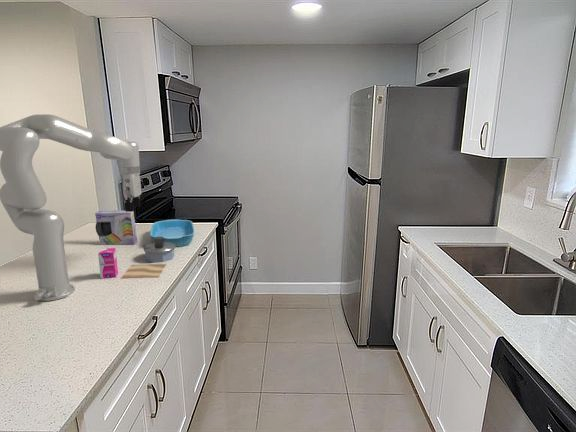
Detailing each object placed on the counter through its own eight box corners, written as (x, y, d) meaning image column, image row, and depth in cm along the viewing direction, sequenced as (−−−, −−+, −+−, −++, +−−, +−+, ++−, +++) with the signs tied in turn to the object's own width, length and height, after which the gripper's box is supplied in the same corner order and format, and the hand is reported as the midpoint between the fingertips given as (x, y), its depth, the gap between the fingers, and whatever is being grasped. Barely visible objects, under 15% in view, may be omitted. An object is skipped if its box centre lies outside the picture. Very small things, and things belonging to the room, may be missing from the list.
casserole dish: (196, 248, 188) (195, 235, 186) (150, 252, 181) (149, 238, 180) (192, 229, 222) (191, 218, 220) (153, 232, 215) (152, 220, 214)
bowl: (171, 262, 168) (170, 252, 166) (143, 263, 166) (142, 252, 165) (175, 253, 179) (175, 244, 178) (150, 254, 178) (149, 244, 177)
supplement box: (100, 279, 148) (97, 253, 145) (103, 274, 154) (100, 248, 151) (116, 278, 150) (113, 252, 147) (118, 273, 155) (115, 247, 152)
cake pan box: (97, 245, 190) (93, 212, 186) (101, 242, 195) (97, 209, 191) (134, 245, 191) (131, 212, 186) (138, 242, 196) (135, 210, 191)
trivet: (158, 278, 150) (158, 277, 150) (120, 279, 149) (120, 278, 149) (166, 264, 165) (166, 263, 165) (131, 265, 163) (131, 264, 163)
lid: (172, 253, 165) (171, 242, 164) (139, 253, 164) (138, 242, 163) (177, 243, 179) (177, 233, 178) (148, 243, 177) (147, 233, 176)
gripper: (133, 172, 151) (135, 213, 155) (145, 169, 168) (147, 205, 172) (114, 172, 150) (117, 213, 154) (128, 168, 167) (130, 205, 171)
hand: (133, 209), depth 163 cm, fingers open, 9 cm apart
